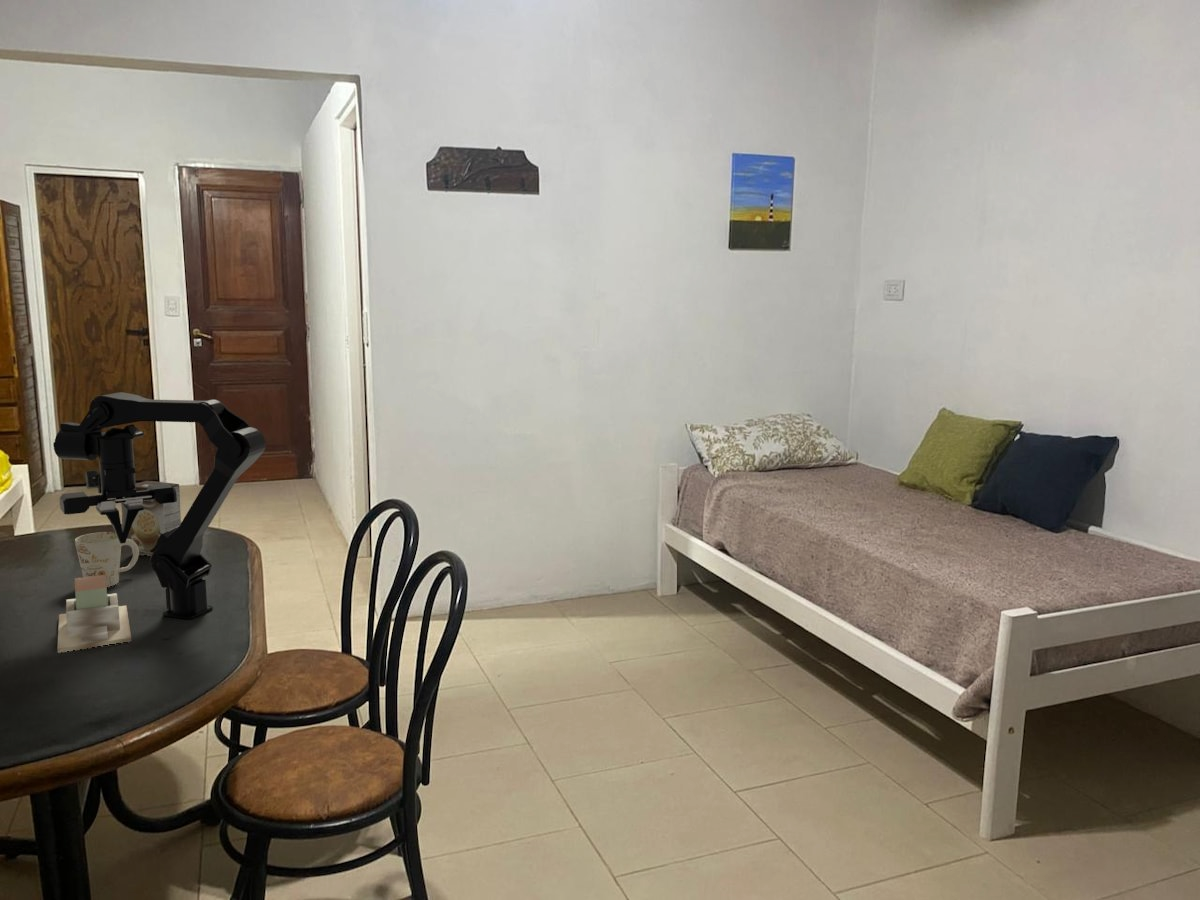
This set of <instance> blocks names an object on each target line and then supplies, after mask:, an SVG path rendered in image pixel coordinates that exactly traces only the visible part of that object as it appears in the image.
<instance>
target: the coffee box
mask: <svg viewBox="0 0 1200 900" xmlns="http://www.w3.org/2000/svg"><path fill="white" fill-rule="evenodd" d="M163 483H167V484H169V485H170V486H171V487H173V488H174V489H175V490H176V495H177V501H176V502H172V503H164V504H159V503H158V502H157V501H155V500H154V499H151V500H143V503H142V506H144V510H141V511H139V512H138V514H137V516H136V518H135V520H134V521H133V524H132V526H131V529H130V536H131V537H130V538H131V540H133V541H134V542H135V543H136V544H137V546H138V549H139V556H144V555H147V556H146V557H151V555H152V554H153V552H150V550H151V549H153V548H154V547H155V546H156V544H157V541H158V538H159V537H160V535H161V534H162V533H165V532H167V531H169V530H171V529H173V528H175V527H178V526H180V524H181V522H182V516H181V515H182V513H181V512H182V511H181V495H180V493H181V492H180V483H171V482H164V481H156V480H143V481H141V482H138V483H137V482H136V491H142V490H147V488H148V485H153V484H163ZM131 554H132V555H133V550H132V549H131Z"/></svg>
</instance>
